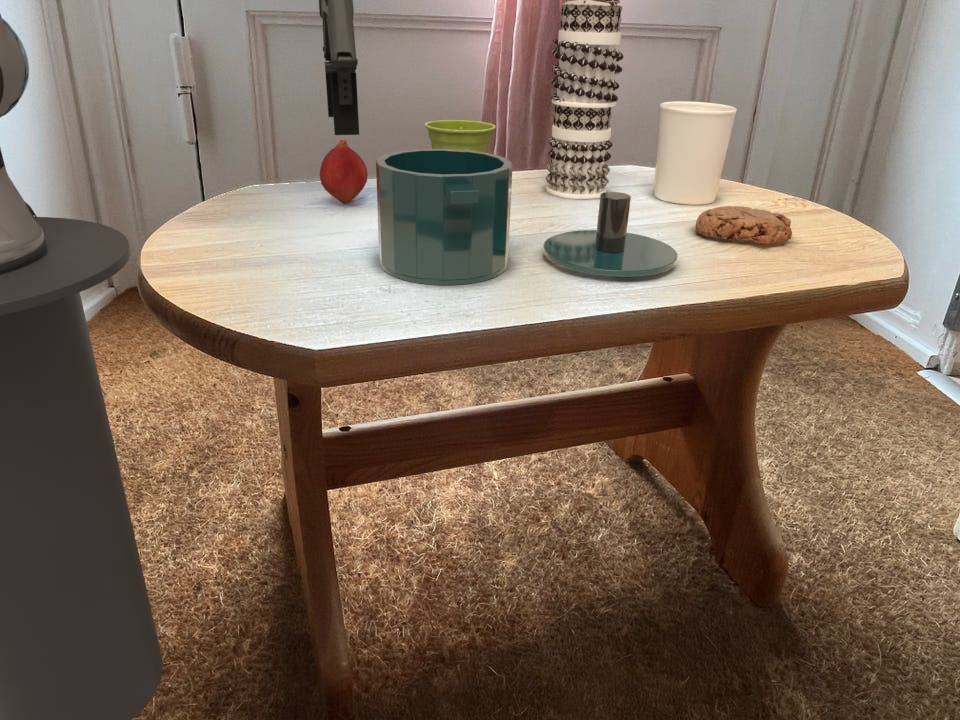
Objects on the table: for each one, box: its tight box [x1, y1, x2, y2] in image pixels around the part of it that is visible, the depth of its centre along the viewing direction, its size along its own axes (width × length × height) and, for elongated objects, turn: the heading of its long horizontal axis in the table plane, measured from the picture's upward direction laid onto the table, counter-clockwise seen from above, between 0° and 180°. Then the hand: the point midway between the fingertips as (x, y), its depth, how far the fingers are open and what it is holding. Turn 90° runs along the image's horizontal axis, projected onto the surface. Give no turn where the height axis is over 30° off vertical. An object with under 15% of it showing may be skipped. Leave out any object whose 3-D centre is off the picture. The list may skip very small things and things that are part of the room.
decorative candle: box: [545, 0, 624, 200], centre depth 97 cm, size 9×9×25 cm
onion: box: [319, 138, 368, 205], centre depth 91 cm, size 6×6×8 cm
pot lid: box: [542, 191, 678, 278], centre depth 74 cm, size 14×14×7 cm
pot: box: [375, 148, 514, 286], centre depth 71 cm, size 13×18×10 cm
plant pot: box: [424, 119, 496, 153], centre depth 100 cm, size 9×9×9 cm
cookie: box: [695, 205, 793, 244], centre depth 85 cm, size 10×11×3 cm
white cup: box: [653, 100, 738, 206], centre depth 99 cm, size 10×10×12 cm
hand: (342, 125), depth 89 cm, fingers open, 13 cm apart
